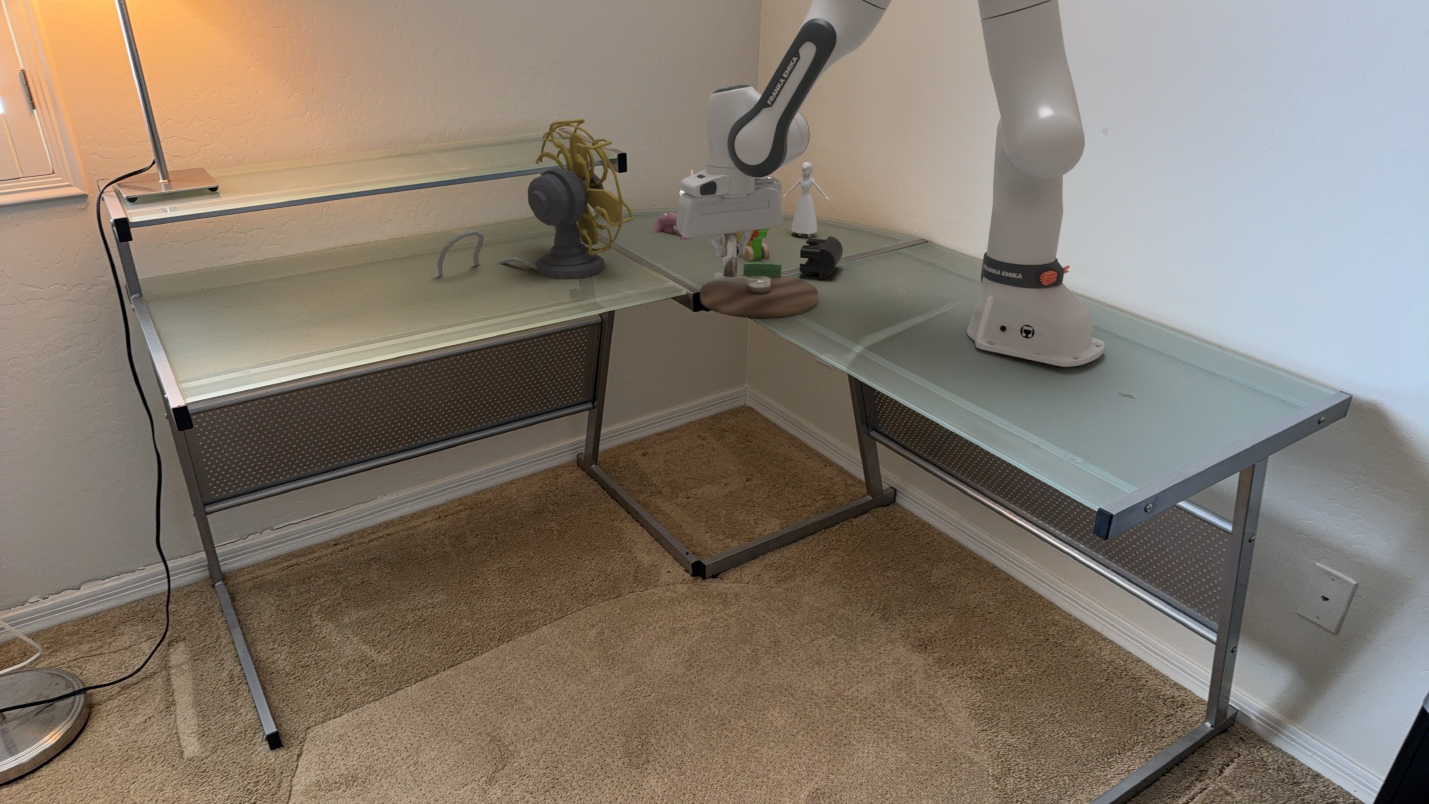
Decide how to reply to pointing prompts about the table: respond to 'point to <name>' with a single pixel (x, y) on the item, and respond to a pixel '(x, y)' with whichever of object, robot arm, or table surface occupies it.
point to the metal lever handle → (730, 268)
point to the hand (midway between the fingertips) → (730, 255)
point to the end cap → (820, 258)
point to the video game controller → (667, 224)
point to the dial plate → (760, 295)
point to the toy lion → (754, 245)
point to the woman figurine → (805, 204)
